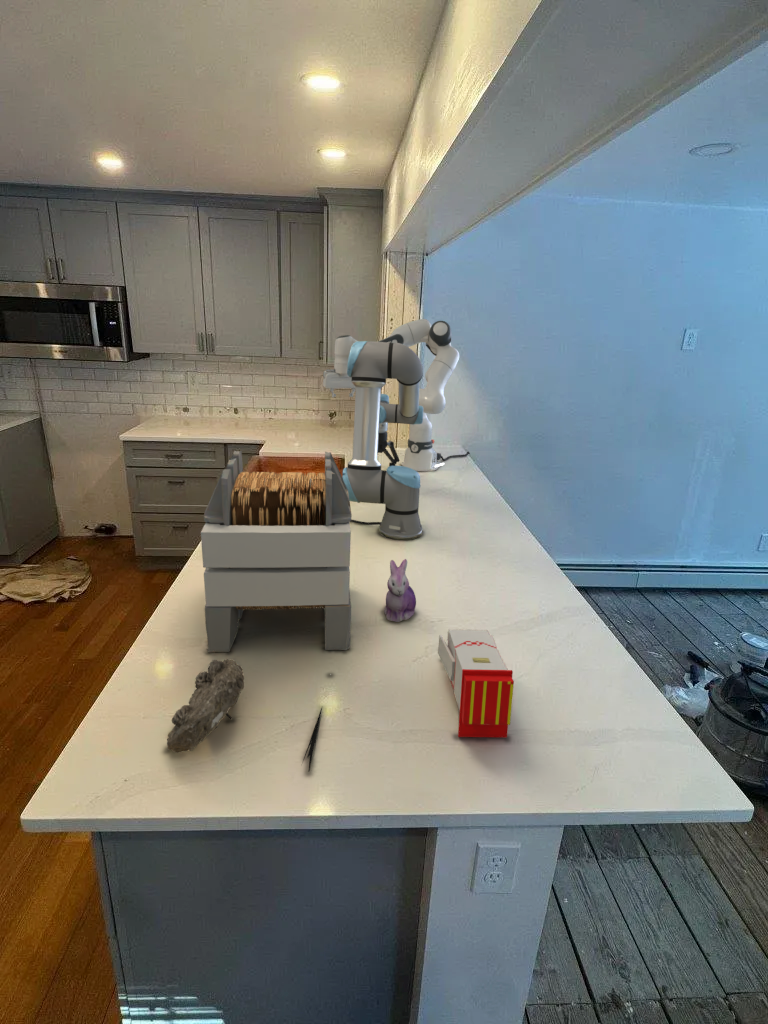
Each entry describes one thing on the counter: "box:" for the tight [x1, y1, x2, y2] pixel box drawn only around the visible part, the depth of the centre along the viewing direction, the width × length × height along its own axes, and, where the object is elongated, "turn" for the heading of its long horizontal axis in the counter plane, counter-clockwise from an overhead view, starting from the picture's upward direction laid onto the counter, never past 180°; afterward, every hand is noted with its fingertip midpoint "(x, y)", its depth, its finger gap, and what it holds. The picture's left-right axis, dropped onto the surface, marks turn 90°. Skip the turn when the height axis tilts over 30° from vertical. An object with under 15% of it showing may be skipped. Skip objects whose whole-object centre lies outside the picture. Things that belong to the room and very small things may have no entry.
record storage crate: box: [200, 450, 353, 653], centre depth 138 cm, size 34×33×41 cm
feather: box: [301, 673, 332, 771], centre depth 108 cm, size 2×28×2 cm
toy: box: [437, 628, 515, 738], centre depth 117 cm, size 12×13×30 cm
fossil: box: [166, 658, 245, 754], centre depth 106 cm, size 22×10×15 cm
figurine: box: [384, 558, 417, 623], centre depth 145 cm, size 9×10×15 cm
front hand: (376, 479), depth 247 cm, fingers open, 13 cm apart
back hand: (342, 397), depth 287 cm, fingers open, 8 cm apart
